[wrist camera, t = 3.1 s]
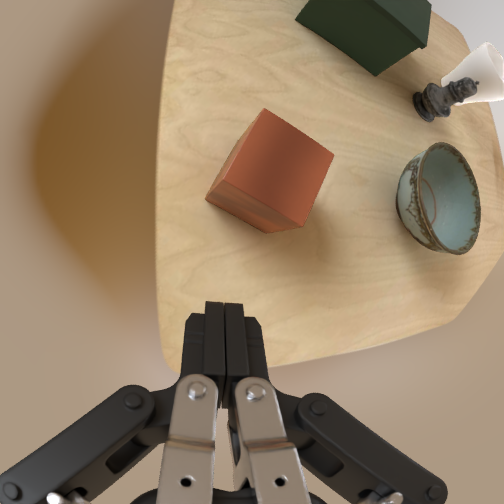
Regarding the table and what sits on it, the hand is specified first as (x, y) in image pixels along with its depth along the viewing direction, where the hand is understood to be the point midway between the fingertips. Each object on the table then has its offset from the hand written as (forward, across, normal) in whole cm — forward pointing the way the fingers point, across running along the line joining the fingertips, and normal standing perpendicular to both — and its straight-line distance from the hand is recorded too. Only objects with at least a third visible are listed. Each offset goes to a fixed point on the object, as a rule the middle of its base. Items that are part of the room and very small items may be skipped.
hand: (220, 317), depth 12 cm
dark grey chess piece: (+34, -30, -12) cm, 47 cm away
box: (+38, -16, -22) cm, 46 cm away
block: (+20, -3, +1) cm, 20 cm away
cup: (+40, -40, -18) cm, 59 cm away
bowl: (+24, -25, +2) cm, 35 cm away
